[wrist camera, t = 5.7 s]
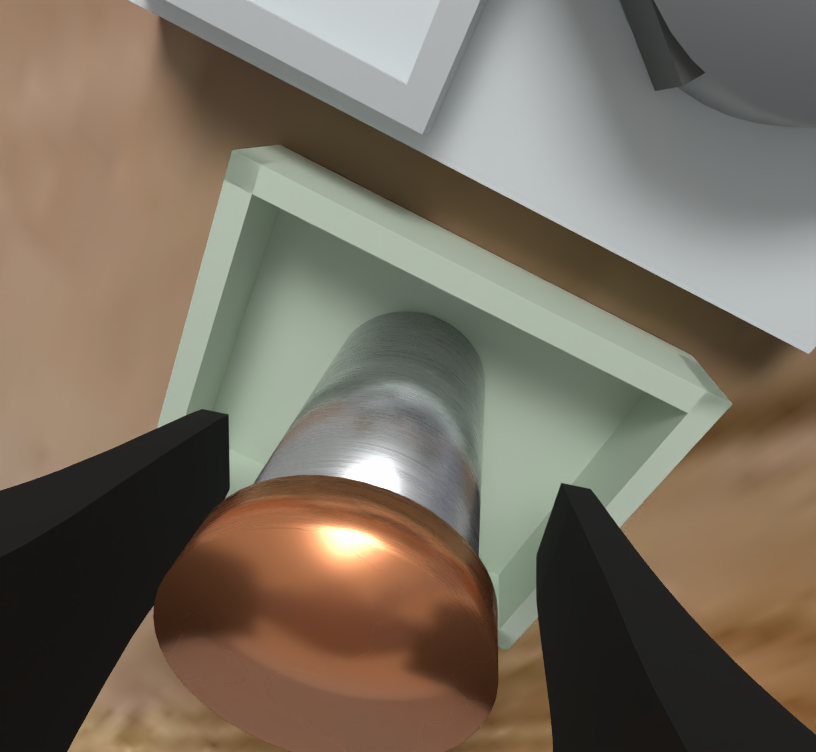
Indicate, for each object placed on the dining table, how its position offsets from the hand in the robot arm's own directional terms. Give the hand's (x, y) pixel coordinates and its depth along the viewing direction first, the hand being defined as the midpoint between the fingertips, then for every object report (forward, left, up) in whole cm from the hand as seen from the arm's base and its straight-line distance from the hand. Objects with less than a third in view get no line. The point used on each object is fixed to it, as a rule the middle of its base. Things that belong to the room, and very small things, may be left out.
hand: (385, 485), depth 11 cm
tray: (0, 0, -4) cm, 4 cm away
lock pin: (0, -1, -3) cm, 3 cm away
